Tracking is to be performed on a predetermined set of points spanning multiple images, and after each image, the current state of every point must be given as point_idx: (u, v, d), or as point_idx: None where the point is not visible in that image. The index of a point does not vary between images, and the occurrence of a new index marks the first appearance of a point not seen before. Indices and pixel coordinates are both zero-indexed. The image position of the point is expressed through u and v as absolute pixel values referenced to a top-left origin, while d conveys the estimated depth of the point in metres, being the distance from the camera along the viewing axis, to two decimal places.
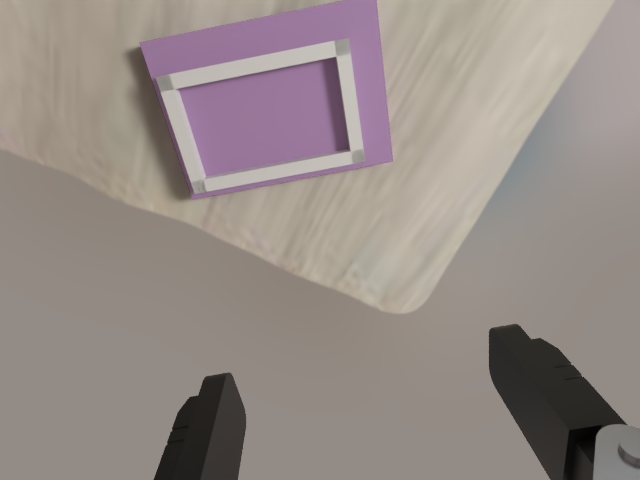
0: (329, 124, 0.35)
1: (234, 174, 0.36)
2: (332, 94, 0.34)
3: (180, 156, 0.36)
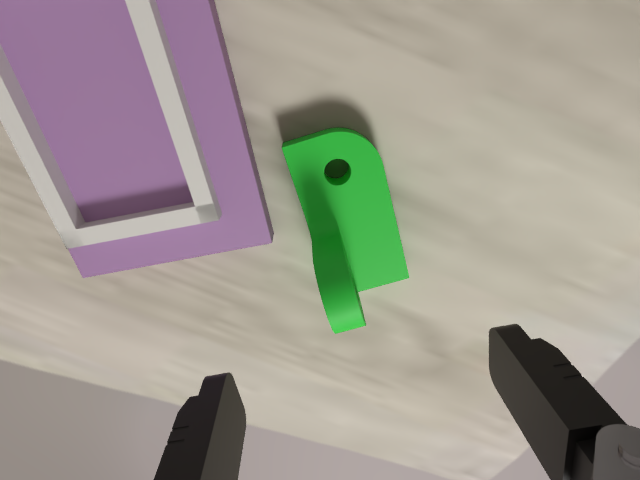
0: (112, 195, 0.25)
1: None
2: (153, 198, 0.25)
3: None
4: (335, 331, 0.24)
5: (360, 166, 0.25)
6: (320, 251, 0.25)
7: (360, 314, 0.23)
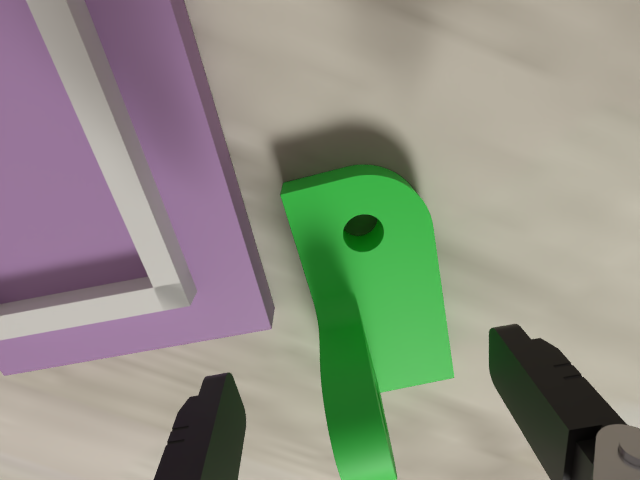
0: (33, 267, 0.17)
1: None
2: (95, 271, 0.17)
3: None
4: None
5: (399, 226, 0.17)
6: (332, 356, 0.16)
7: (392, 472, 0.14)
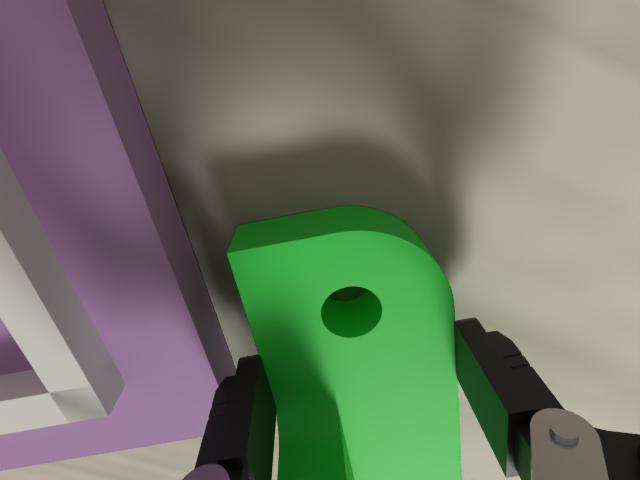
0: None
1: None
2: None
3: None
4: None
5: (404, 305, 0.11)
6: None
7: None
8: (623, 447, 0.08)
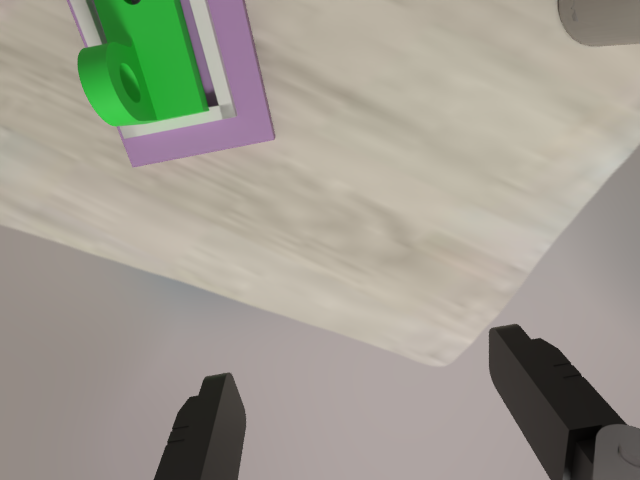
0: None
1: None
2: None
3: None
4: (96, 109, 0.27)
5: None
6: None
7: (112, 88, 0.26)
8: None
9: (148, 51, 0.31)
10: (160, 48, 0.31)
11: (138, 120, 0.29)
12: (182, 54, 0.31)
